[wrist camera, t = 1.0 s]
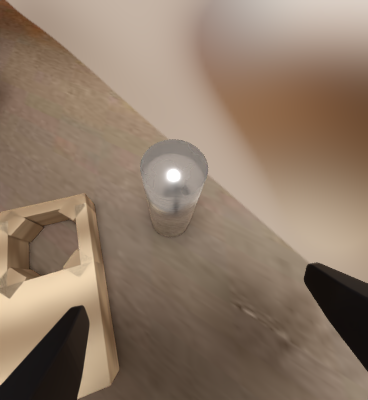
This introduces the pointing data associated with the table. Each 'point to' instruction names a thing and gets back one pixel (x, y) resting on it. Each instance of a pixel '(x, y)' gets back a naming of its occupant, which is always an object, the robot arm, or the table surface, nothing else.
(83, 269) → the jig
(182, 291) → the table surface
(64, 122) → the table surface
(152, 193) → the translucent cylinder
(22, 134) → the table surface
